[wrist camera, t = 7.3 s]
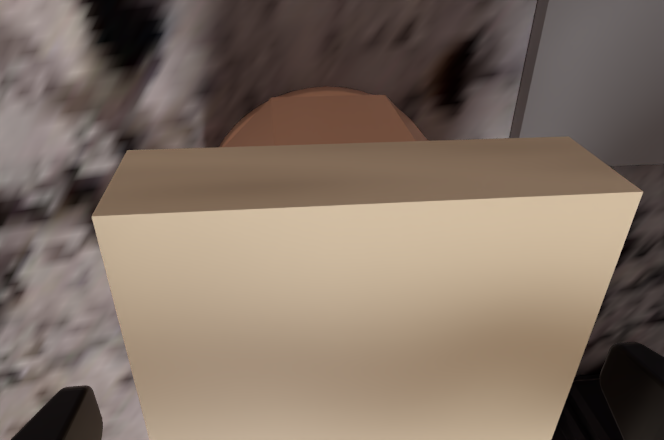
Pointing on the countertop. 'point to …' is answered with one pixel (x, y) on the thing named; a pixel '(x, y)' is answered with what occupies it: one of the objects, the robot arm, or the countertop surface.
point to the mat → (596, 78)
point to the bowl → (323, 120)
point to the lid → (360, 285)
